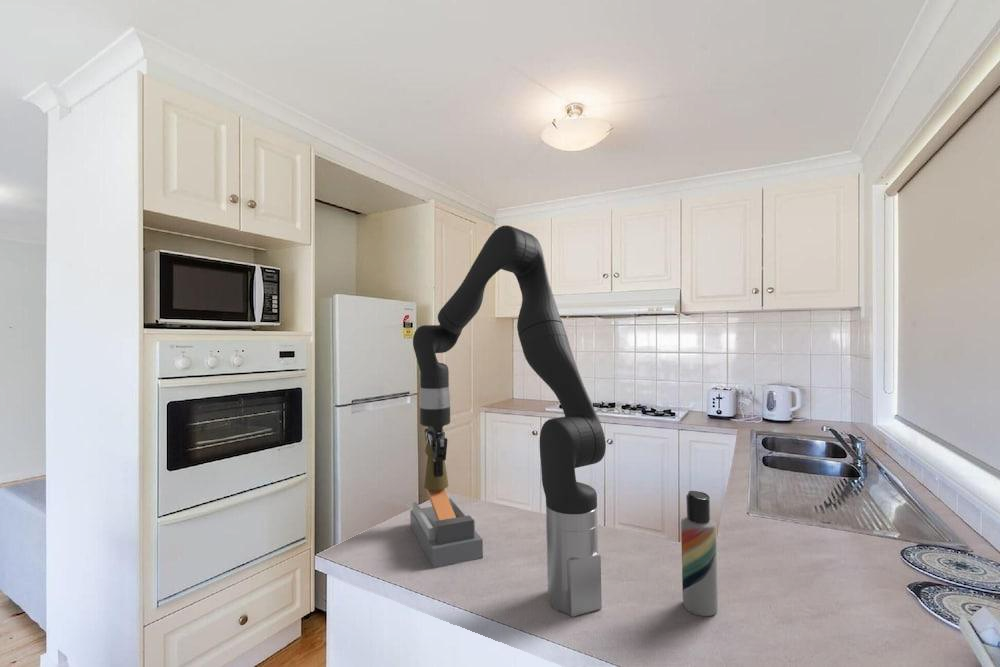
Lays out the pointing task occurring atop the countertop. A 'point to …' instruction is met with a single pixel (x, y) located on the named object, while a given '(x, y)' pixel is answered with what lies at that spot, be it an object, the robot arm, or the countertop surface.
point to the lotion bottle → (699, 556)
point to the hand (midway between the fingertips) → (436, 473)
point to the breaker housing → (446, 535)
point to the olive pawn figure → (430, 479)
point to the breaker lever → (441, 504)
